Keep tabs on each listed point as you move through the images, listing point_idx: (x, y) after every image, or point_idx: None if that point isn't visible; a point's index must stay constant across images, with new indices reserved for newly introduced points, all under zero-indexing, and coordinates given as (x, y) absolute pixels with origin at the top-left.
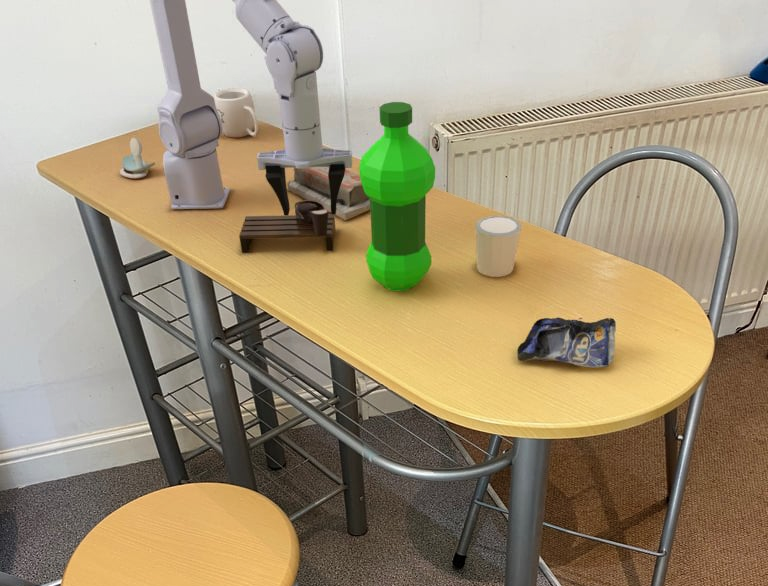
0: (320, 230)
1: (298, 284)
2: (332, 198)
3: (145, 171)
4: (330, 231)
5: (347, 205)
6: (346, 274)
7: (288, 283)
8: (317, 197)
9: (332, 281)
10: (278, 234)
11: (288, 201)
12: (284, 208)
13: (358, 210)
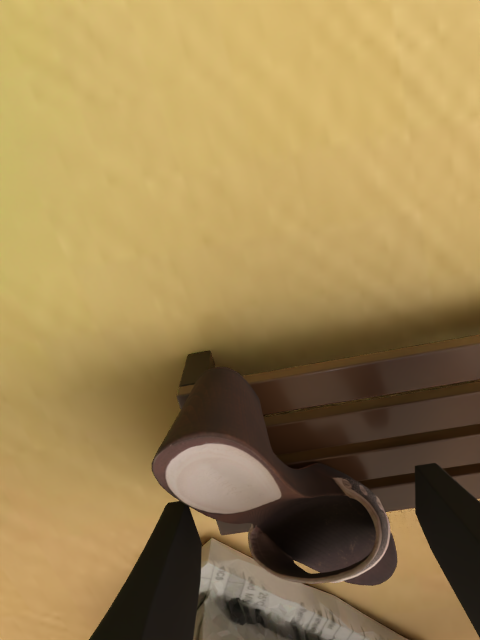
0: (212, 380)
1: (248, 18)
2: (145, 589)
3: None
4: None
5: (214, 598)
6: (54, 172)
7: (303, 20)
8: (330, 626)
9: (89, 88)
10: (435, 352)
11: (439, 556)
12: (453, 491)
13: None
